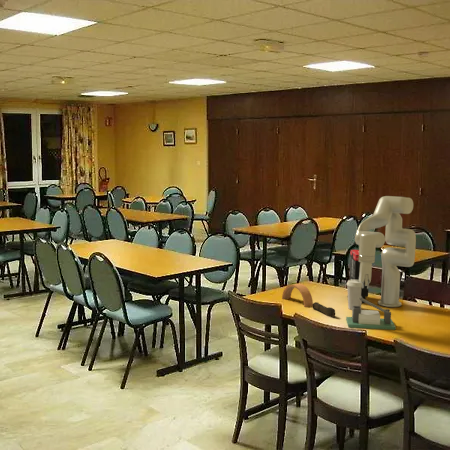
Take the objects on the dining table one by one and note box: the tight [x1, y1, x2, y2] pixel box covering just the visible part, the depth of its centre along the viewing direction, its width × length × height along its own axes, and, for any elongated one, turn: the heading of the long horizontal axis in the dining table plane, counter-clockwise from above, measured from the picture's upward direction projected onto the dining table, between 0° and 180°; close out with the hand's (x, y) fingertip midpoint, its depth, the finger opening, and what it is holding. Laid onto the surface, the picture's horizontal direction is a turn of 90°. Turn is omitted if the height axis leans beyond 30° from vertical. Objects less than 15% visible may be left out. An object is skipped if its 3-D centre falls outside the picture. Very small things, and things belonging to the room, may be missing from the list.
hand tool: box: [311, 301, 336, 319], centre depth 315 cm, size 19×4×5 cm, turn 20°
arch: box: [281, 283, 314, 308], centre depth 336 cm, size 6×20×10 cm, turn 32°
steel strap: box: [359, 296, 388, 314], centre depth 295 cm, size 3×16×2 cm, turn 83°
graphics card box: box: [349, 249, 367, 304], centre depth 343 cm, size 17×7×27 cm, turn 179°
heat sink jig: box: [345, 306, 397, 331], centre depth 296 cm, size 13×22×8 cm, turn 83°
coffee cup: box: [346, 279, 363, 311], centre depth 324 cm, size 10×10×15 cm
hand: (364, 296), depth 294 cm, fingers closed
